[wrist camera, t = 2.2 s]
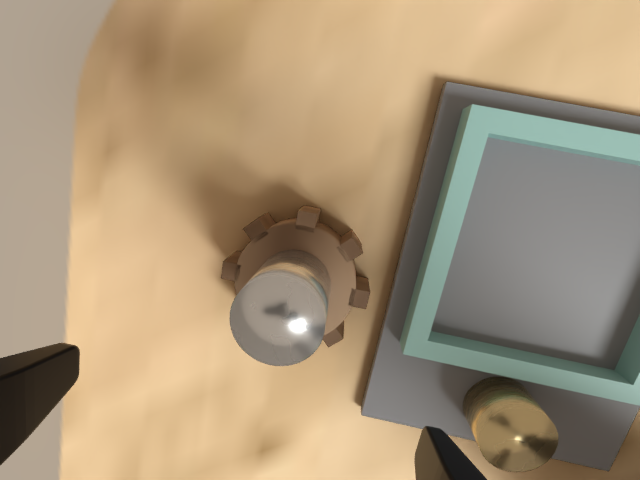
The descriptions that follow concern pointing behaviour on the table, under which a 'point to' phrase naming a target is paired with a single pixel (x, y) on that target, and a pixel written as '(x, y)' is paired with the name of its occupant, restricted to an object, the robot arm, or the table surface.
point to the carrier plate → (518, 283)
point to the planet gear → (293, 287)
